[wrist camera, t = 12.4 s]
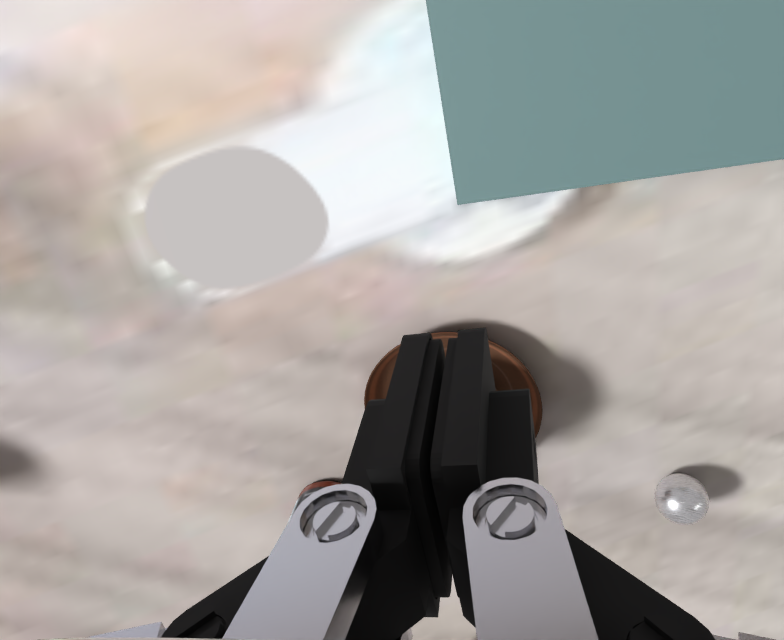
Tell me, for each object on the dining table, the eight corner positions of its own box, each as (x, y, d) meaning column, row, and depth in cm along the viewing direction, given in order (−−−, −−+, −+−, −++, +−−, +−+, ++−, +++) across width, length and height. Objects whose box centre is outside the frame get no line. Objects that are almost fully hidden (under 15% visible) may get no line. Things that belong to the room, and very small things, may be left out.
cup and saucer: (563, 438, 44) (571, 502, 39) (410, 473, 48) (398, 536, 43) (505, 296, 39) (505, 348, 34) (341, 349, 43) (318, 402, 38)
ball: (641, 514, 43) (647, 466, 44) (671, 526, 44) (676, 479, 45) (686, 521, 40) (692, 468, 41) (717, 533, 42) (721, 482, 43)
